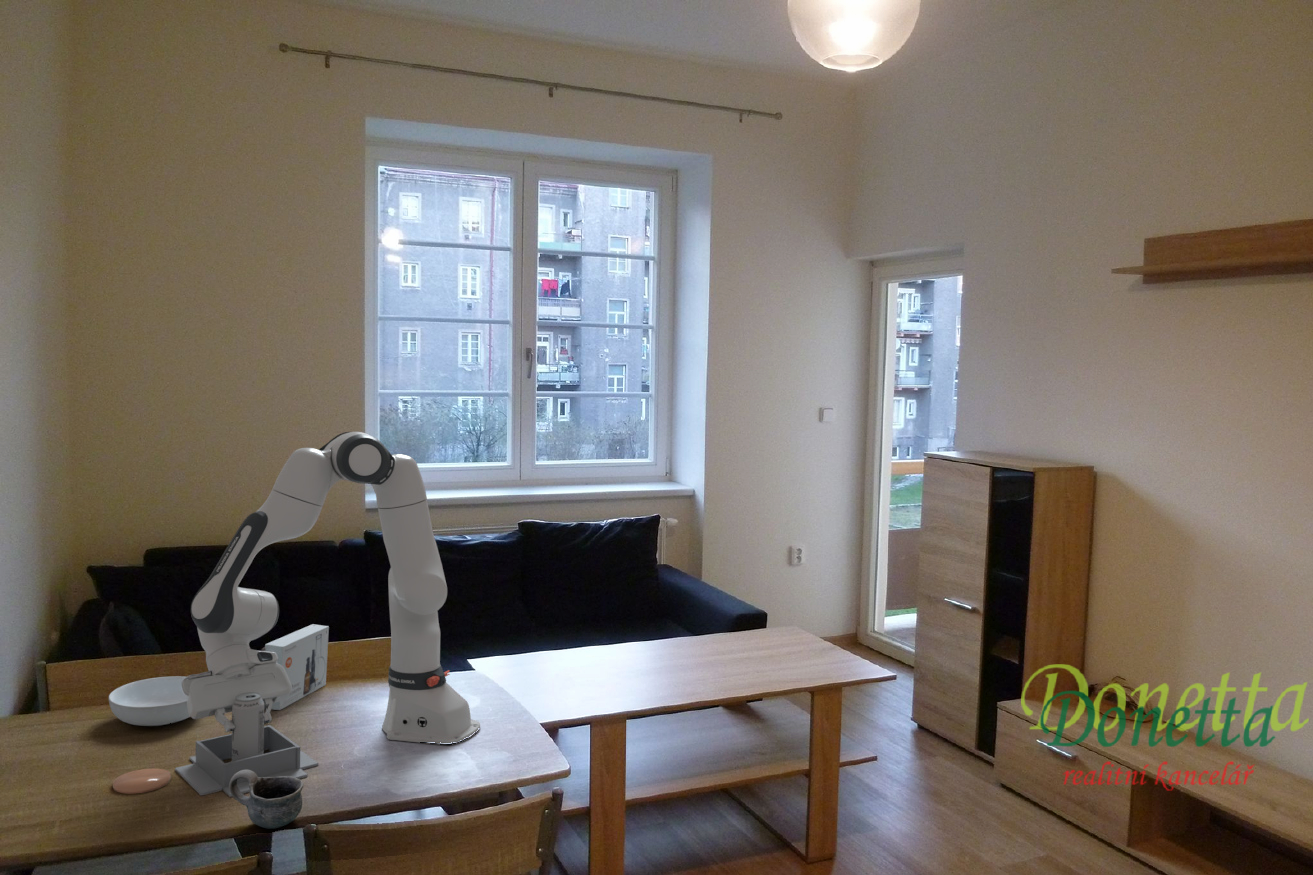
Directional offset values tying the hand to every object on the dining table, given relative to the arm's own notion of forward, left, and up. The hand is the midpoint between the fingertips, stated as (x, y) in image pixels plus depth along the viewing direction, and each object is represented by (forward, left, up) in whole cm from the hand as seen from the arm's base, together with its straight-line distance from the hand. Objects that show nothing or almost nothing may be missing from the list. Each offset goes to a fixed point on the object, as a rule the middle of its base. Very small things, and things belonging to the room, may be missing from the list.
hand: (249, 726), depth 196 cm
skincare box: (+22, -39, -9) cm, 46 cm away
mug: (-20, +18, -9) cm, 29 cm away
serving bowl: (+38, -13, -9) cm, 42 cm away
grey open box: (+1, 0, -9) cm, 9 cm away
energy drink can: (+1, 0, -9) cm, 9 cm away
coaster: (+14, +14, -9) cm, 21 cm away
